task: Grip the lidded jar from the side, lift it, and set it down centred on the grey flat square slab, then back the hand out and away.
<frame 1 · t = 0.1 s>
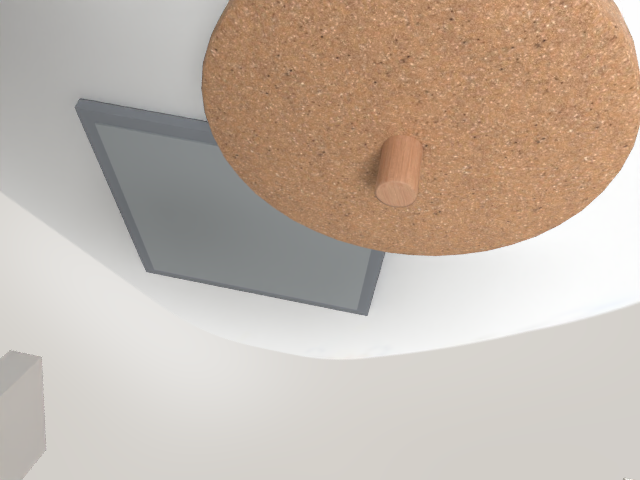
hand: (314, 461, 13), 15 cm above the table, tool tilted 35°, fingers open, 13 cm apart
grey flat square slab: (251, 223, 33), on the table
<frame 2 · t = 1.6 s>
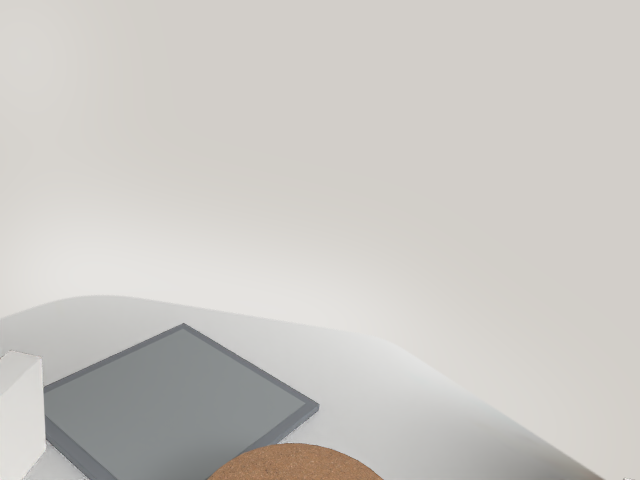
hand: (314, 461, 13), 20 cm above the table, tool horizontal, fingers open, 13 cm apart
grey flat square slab: (173, 409, 43), on the table
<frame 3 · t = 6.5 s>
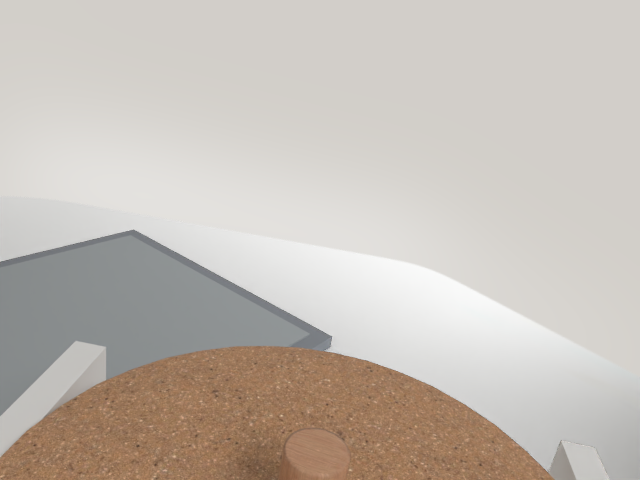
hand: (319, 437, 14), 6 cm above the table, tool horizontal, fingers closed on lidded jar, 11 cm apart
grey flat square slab: (92, 334, 26), on the table
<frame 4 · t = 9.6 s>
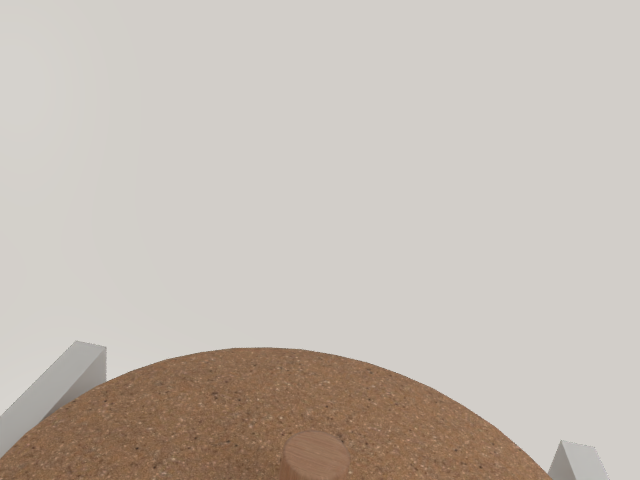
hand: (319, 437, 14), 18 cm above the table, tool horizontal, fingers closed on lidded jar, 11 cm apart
when the fingers open (8 cm above the table, at t = 13.1 s): lidded jar drops 1 cm, resting on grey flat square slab.
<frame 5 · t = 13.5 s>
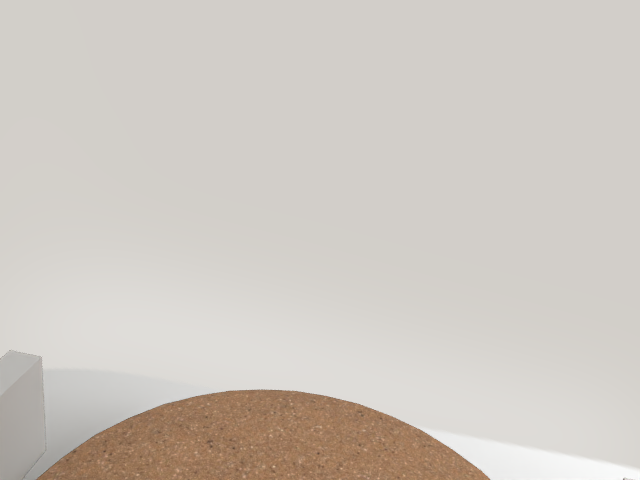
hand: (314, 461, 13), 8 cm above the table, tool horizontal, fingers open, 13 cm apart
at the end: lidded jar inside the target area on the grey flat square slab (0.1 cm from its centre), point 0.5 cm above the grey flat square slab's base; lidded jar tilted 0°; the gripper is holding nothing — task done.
